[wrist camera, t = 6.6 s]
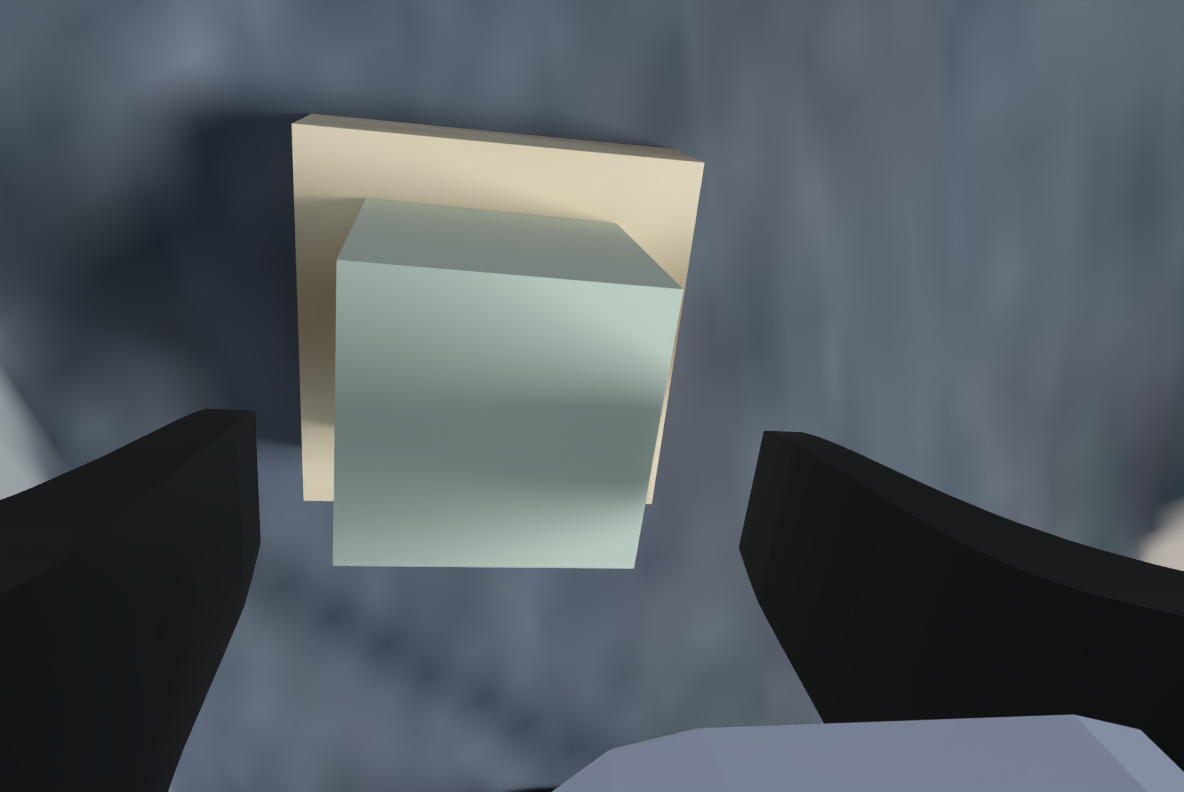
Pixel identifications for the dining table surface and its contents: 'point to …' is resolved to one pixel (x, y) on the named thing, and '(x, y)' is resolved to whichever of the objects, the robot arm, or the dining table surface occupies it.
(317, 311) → the pedestal
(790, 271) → the dining table surface
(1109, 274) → the dining table surface
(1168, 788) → the robot arm
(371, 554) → the cube
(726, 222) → the dining table surface
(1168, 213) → the dining table surface
